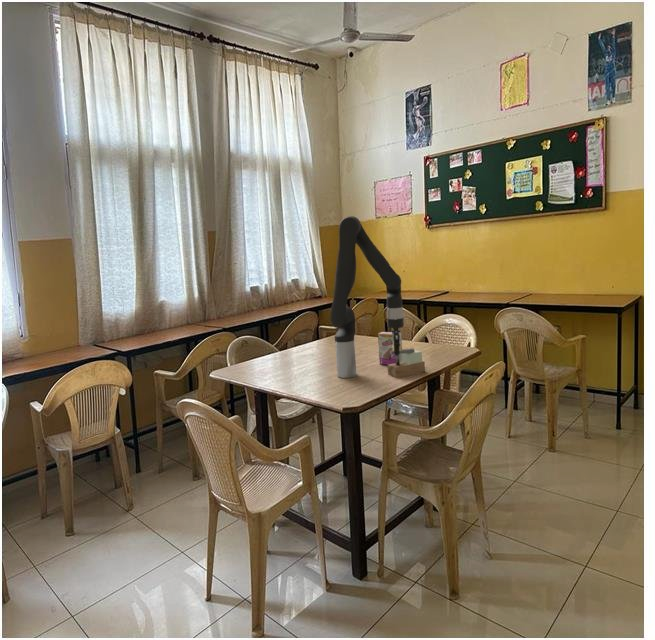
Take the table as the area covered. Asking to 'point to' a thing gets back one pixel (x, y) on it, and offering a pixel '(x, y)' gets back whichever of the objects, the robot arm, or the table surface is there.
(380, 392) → the table surface
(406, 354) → the pale green block
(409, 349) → the key
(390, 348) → the candy bar box
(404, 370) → the case
